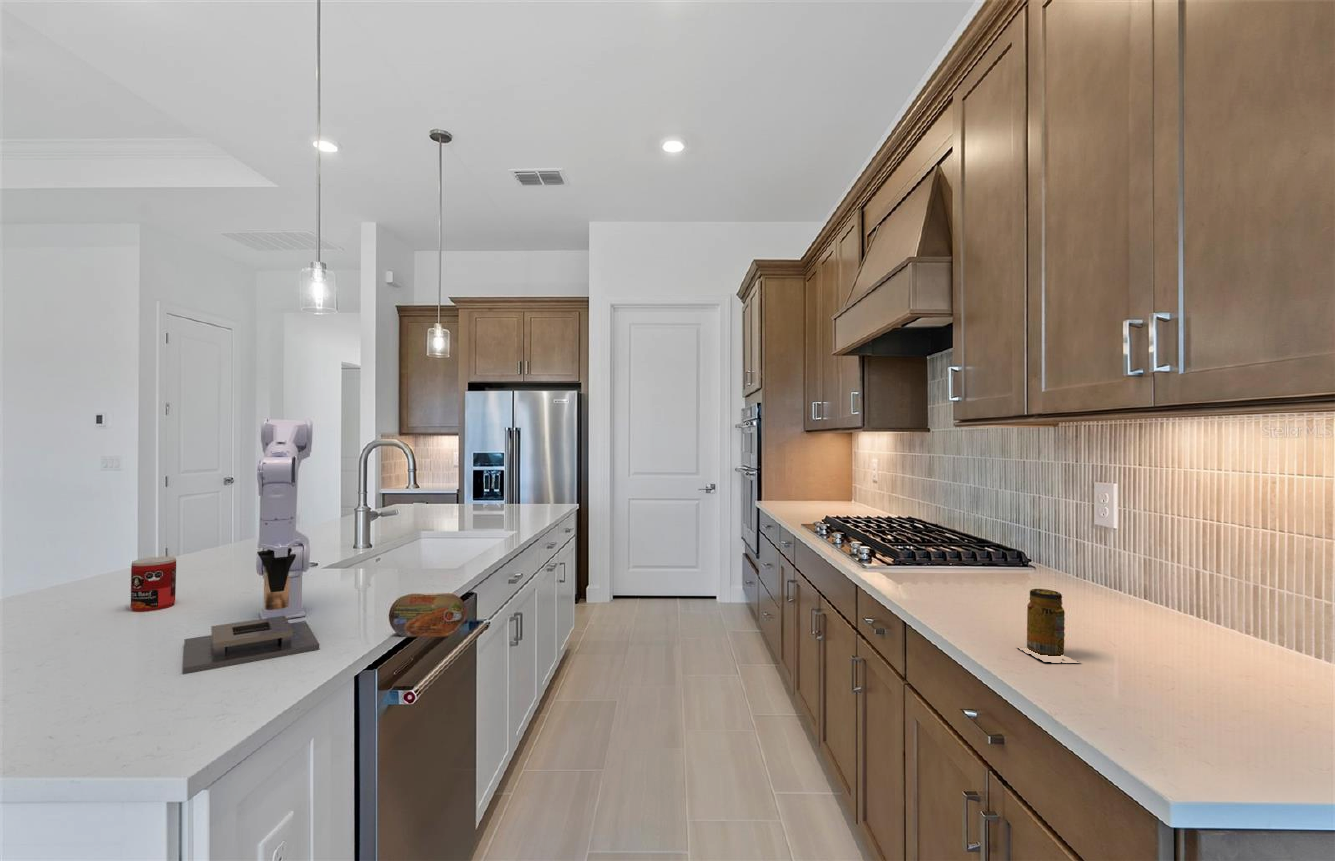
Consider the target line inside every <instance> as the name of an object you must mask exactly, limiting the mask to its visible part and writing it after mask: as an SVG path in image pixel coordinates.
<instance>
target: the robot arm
mask: <svg viewBox="0 0 1335 861" xmlns="http://www.w3.org/2000/svg"><path fill="white" fill-rule="evenodd" d="M260 443H261V446H262V453H263V454H264V455H263V459H258V461H257V466H256V481H257V485H258V487H257V488H258V496H260V497H259V521H258V523H259V524H258V526H259V528H258V529H259V530H258V531H259V532H258V542H257V547H258V548H257V552H256V562H255V564H256V566H255V568H256V574H258V575H259V576H260V577H261V576H262V580H263V609H260V610H259V615H260V619H265V618H271V617H278V616H286V618H287V620H288V619H294V618H301V617H302V618H303V617H305V616H306V615H307V614H306V612H305V610H304V609H303V607H302V603H303V601H302V600H303V599H302V598H303V575H304V574H303V573H306V572H307V571H308V570H309V569H310V552H311V551H310V550H311V549H310V540H309V537H308V536H307V535H305V534H303V533H302V532H301V531H299V530H297V512H298V510H297V508H298V507H297V506H298V505H297V504H298V486H299V484H298V481H299V469H300V466H301V463H302V461H303V460H305V459H307V458H310V457H311V453H312V444H313V421H312V420H311V419H277V418H275V419H271V418H269V419H268V418H264V419H263V420H262V421H261V425H260ZM264 567H265V568H266V571H267V576H268V583H269V588H270V591H271V592H280V591H284V588H285V585H286V581H287V577H288V573H289V606H288V607H286V608H282V609H277V610H266V609H265V572H264Z"/></svg>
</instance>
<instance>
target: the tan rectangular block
mask: <svg viewBox="0 0 1335 861" xmlns="http://www.w3.org/2000/svg"><path fill="white" fill-rule="evenodd" d="M264 572H265V609H266V610H277V609H282V608H286V607H288V606H289V573H288V577H287V581H286V585H285V588H284V591H280V592H271V591H270V588H269V583H268V576H267V571H266V568H265V567H264Z"/></svg>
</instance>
